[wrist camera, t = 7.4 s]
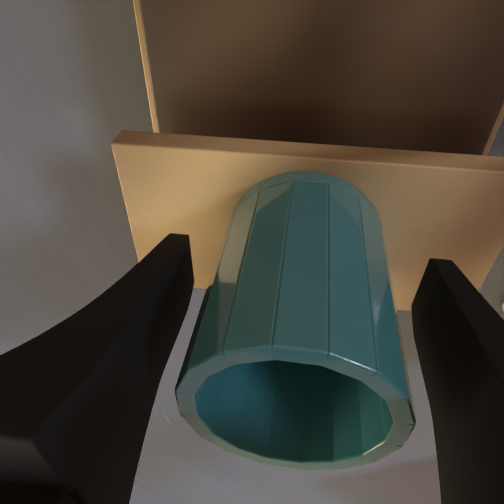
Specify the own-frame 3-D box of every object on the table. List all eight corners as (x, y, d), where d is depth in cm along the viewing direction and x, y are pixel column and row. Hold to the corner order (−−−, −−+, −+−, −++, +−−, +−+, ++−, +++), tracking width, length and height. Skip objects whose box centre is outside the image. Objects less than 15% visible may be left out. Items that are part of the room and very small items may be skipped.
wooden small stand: (563, -146, 12) (735, -183, 7) (431, 216, 20) (465, 317, 15) (145, -146, 13) (33, -176, 8) (185, 195, 21) (142, 282, 16)
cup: (399, 177, 12) (449, 368, 7) (365, 298, 15) (383, 482, 10) (226, 164, 12) (160, 332, 7) (230, 283, 16) (187, 453, 11)
